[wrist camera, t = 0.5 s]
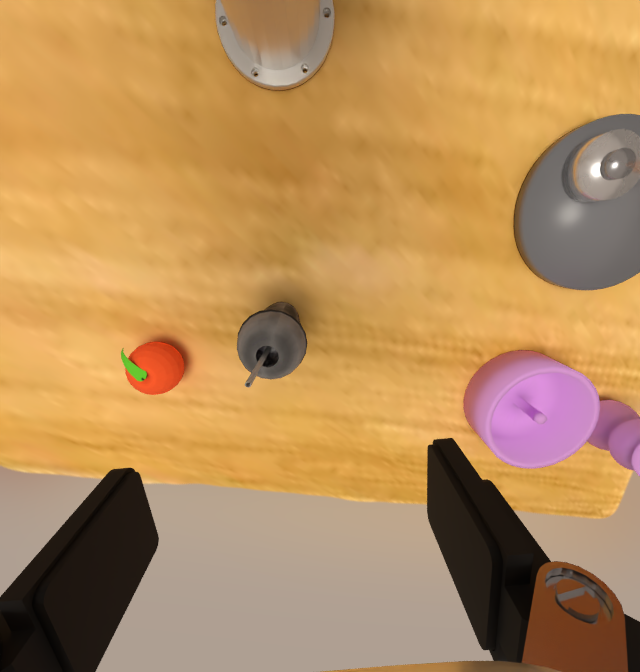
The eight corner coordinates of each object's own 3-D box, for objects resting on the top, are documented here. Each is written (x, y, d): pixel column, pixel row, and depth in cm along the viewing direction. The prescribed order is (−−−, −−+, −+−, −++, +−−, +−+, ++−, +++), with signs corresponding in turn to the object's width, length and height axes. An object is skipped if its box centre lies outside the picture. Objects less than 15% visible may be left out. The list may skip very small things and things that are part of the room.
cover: (552, 162, 38) (578, 153, 34) (608, 124, 37) (643, 110, 33) (574, 214, 40) (602, 212, 36) (629, 179, 39) (664, 172, 35)
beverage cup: (318, 323, 45) (323, 385, 26) (277, 353, 46) (253, 433, 27) (286, 281, 44) (266, 313, 24) (244, 312, 45) (193, 367, 25)
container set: (448, 430, 51) (494, 493, 38) (486, 339, 47) (550, 376, 34) (592, 461, 53) (680, 530, 40) (639, 376, 49) (754, 424, 36)
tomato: (126, 354, 46) (93, 374, 39) (155, 320, 45) (127, 334, 38) (172, 390, 48) (148, 415, 41) (201, 358, 46) (182, 378, 40)
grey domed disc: (487, 187, 41) (522, 176, 34) (642, 81, 38) (714, 47, 31) (550, 316, 46) (591, 329, 39) (691, 231, 43) (762, 229, 36)
